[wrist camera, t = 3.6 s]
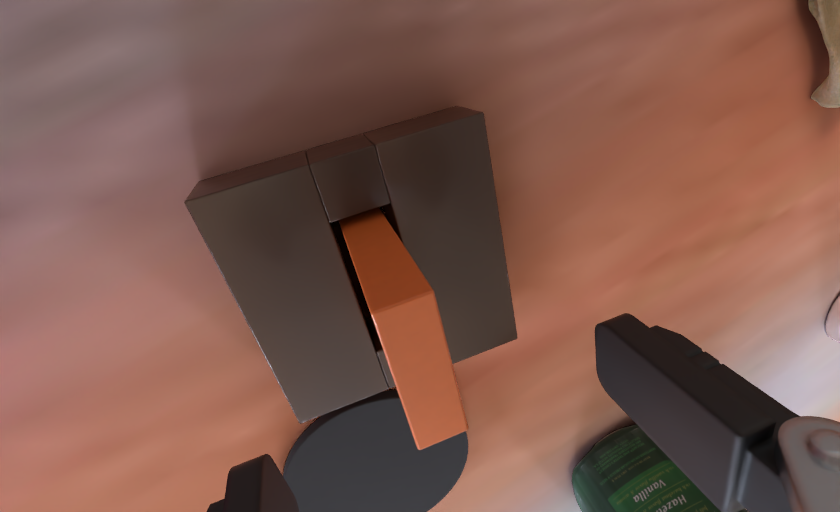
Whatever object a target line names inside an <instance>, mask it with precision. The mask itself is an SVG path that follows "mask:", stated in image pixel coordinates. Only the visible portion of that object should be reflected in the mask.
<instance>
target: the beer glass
mask: <svg viewBox="0 0 840 512" xmlns="http://www.w3.org/2000/svg"><path fill="white" fill-rule="evenodd" d="M826 332H827V335H828V336H829V337H830V338H831V339H832V340H834V341H836V342H838V343H840V295H839V296H838V297H837V299H836V300H835V302H834V303H833V305H832V307H831V309H830V311H829V313H828V316H827V319H826Z"/></svg>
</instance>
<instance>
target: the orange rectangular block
mask: <svg viewBox="0 0 840 512" xmlns="http://www.w3.org/2000/svg"><path fill="white" fill-rule="evenodd" d="M338 221H339V224H340V227H341V230H342V233H343V236H344V238H345V241H346V244H347V247H348V250H349V253H350V256H351V259H352V262H353V264H354V267H355V270H356V273H357V276H358V279H359V282H360V285H361V288H362V290H363V293H364V296H365V299H366V302H367V305H368V308H369V311H370V314H371V316H372V319H373V322H374V325H375V328H376V331H377V334H378V337H379V339H380V342H381V345H382V348H383V351H384V354H385V357H386V360H387V363H388V365H389V368H390V371H391V374H392V377H393V380H394V383H395V386H396V389H397V391H398V394H399V397H400V400H401V403H402V406H403V409H404V412H405V414H406V417H407V420H408V423H409V426H410V429H411V432H412V435H413V438H414V440H415V443H416V446H417V448H418V449H419V450H422V449H424V448H426V447H429V446H431V445H434V444H436V443H438V442H441V441H443V440H445V439H448V438H450V437H453V436H455V435H457V434H460V433H462V432H464V431H467V430H468V424H467V420H466V416H465V412H464V408H463V404H462V400H461V396H460V392H459V388H458V384H457V380H456V376H455V372H454V368H453V364H452V360H451V356H450V353H449V349H448V345H447V341H446V337H445V333H444V329H443V325H442V321H441V317H440V313H439V309H438V305H437V301H436V297H435V293H434V290H433V289H432V287H431V286H430V284H429V283H428V281H427V280H426V278H425V277H424V275H423V274H422V272H421V271H420V269H419V268H418V266H417V265H416V263H415V262H414V260H413V258H412V257H411V255H410V254H409V252H408V251H407V249H406V248H405V246H404V245H403V243H402V242H401V240H400V239H399V237H398V236H397V234H396V233H395V231H394V230H393V228H392V226H391V225H390V223H389V222H388V220H387V219H386V217H385V216H384V214H383V213H382V211H381V210H380V208H379V207H378V208H374V209H371V210H368V211H365V212H362V213H359V214H356V215H353V216H350V217H347V218H343V219H340V220H338Z"/></svg>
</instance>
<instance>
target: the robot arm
mask: <svg viewBox="0 0 840 512" xmlns="http://www.w3.org/2000/svg"><path fill="white" fill-rule="evenodd" d="M595 346H596V369H597V375H598V378H599V380H600V382H601V384H602V386H603V388H604V389H605V391H606V392H607V394H608V395H609V396H610V397H611V398H612V399H613V400H614V401H615V402H616V403H617V404H618V405H619V406H620V407H621V408H622V409H623V410H624V411H625V413H626V414H627V415H628V416H629V417H630V418H631V419H632V420H633V421H634V422H635V423H636V424H637V425H638V426H639V427H640V428H641V429H642V430H643V431H644V432H645V433H646V434H647V435H648V436H649V437H650V439H651V440H652V441H653V442H654V443H655V444H656V445H657V446H658V447H659V448H660V449H661V450H662V451H663V452H664V453H665V454H666V455H667V456H668V457H669V458H670V459H671V460H672V461H673V462H674V463H675V465H676V466H677V467H678V468H679V469H680V470H681V471H682V472H683V473H684V474H685V475H686V476H687V477H688V478H689V479H690V480H691V481H692V482H693V483H694V484H695V485H696V486H697V487H698V488H699V489H700V491H701V492H702V493H703V494H704V495H705V496H706V497H707V498H708V499H709V500H710V501H711V502H712V503H713V504H714V505H715V506H716V507H717V508H718V509H719V510H720V511H721V512H738V511H740V510H742V509H744V508H745V509H746V510H747V511H748V512H840V422H837V421H834V420H830V419H826V418H821V417H814V416H802V417H800V416H798V415H797V414H795V413H793V412H792V411H790V410H789V409H787V408H786V407H784V406H783V405H781V404H780V403H779V402H777V401H776V400H774V399H773V398H771V397H770V396H769V395H767V394H766V393H764V392H763V391H761V390H760V389H758V388H757V387H756V386H754V385H753V384H751V383H750V382H748V381H747V380H746V379H744V378H743V377H741V376H740V375H738V374H737V373H735V372H734V371H733V370H731V369H730V368H728V367H727V366H725V365H724V364H722V365H721V364H720V363H719V361H718V360H717V359H715V358H714V357H713V356H711V355H710V354H708V353H707V352H703V351H702V349H701V348H700V347H698V346H697V345H695V344H694V343H692V342H691V341H690V340H688V339H687V338H685V337H684V336H682V335H681V334H678V333H675V332H673V331H670V330H667V329H665V328H662V327H659V326H653V327H651V328H649V327H648V326H646V325H645V324H643V323H642V322H641V321H639V320H638V319H637V318H635V317H634V316H632V315H630V314H627V313H625V314H622V315H620V316H617V317H615V318H612V319H610V320H607V321H604V322H602V323H599V324H597V325H596V327H595ZM207 512H299V508H298V504H297V501H296V498H295V496H294V494H293V492H292V491H291V489H290V487H289V486H288V484H287V482H286V481H285V479H284V477H283V476H282V474H281V472H280V471H279V469H278V467H277V466H276V464H275V463H274V461H273V459H272V458H271V456H270V455H268V454H265V455H262V456H260V457H257V458H255V459H252V460H250V461H247V462H244V463H242V464H239V465H237V466H234V467H232V468H231V469H230V471H229V473H228V479H227V486H226V493H225V499H222V500H220V501H218V502H215V503H213V504H210V506H209V508H208V510H207Z"/></svg>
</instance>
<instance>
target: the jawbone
mask: <svg viewBox="0 0 840 512" xmlns="http://www.w3.org/2000/svg"><path fill="white" fill-rule="evenodd" d="M808 6H809V10H810V12H811V13H812V15H813V16H814V17H815V19H816V20H817V22H818V25H819V27H820V30H821V32H822V36H823V40H824V43H825V45H826V47H827V50H828V54H829V63H830V66H829V75H828V76H827V78H826V79H825V80H824V81H823V83H822V84H821V85H820V86H819V87H818V88H817V89H816V90H815V91H814V92H813V94H812V95H811V99H812V100H815V101H816V102H818V103H819V105H820V106H822V107H828V108H838V107H840V0H808Z"/></svg>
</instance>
